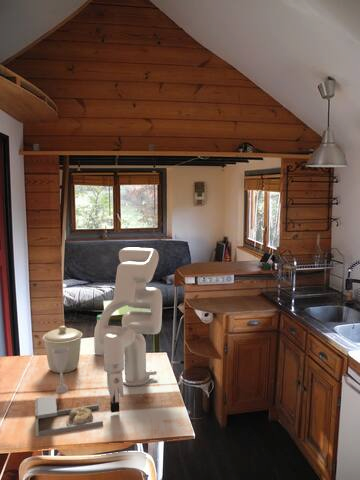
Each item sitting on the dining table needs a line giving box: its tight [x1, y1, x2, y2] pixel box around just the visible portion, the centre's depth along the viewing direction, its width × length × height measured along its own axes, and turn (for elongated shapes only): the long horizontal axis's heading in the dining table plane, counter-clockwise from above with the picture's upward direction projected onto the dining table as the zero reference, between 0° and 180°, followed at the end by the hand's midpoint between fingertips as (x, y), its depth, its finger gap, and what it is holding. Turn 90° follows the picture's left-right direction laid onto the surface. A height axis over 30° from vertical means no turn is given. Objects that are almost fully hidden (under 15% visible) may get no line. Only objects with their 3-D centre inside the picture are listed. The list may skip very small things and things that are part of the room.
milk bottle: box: [93, 314, 104, 356], centre depth 225 cm, size 8×8×20 cm
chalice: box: [52, 347, 69, 394], centre depth 184 cm, size 7×7×18 cm
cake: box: [66, 406, 94, 426], centre depth 162 cm, size 10×10×5 cm
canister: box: [42, 325, 83, 374], centre depth 206 cm, size 18×18×21 cm
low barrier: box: [34, 395, 104, 437], centre depth 161 cm, size 23×13×8 cm, turn 108°
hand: (114, 411), depth 166 cm, fingers closed
